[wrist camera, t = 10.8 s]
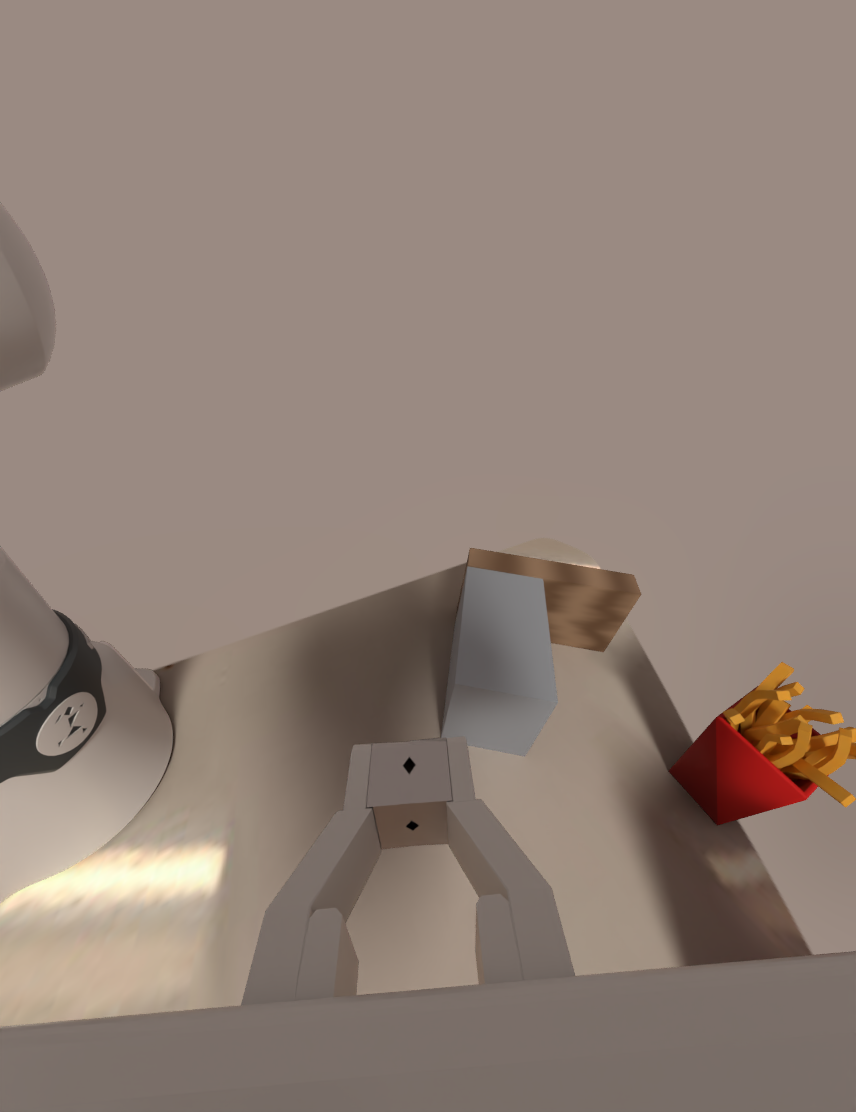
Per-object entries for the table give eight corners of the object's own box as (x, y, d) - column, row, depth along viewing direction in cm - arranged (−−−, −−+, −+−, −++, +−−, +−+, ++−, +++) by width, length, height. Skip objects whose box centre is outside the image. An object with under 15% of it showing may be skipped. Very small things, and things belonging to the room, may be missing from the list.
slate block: (440, 740, 36) (454, 683, 30) (454, 626, 47) (467, 566, 40) (524, 756, 36) (557, 702, 29) (519, 638, 46) (543, 579, 40)
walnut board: (455, 625, 47) (468, 565, 40) (457, 607, 49) (470, 547, 43) (603, 651, 46) (641, 594, 39) (598, 632, 48) (633, 574, 42)
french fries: (695, 734, 39) (801, 645, 29) (781, 819, 34) (946, 745, 24) (638, 776, 35) (739, 691, 26) (725, 879, 30) (894, 820, 20)
